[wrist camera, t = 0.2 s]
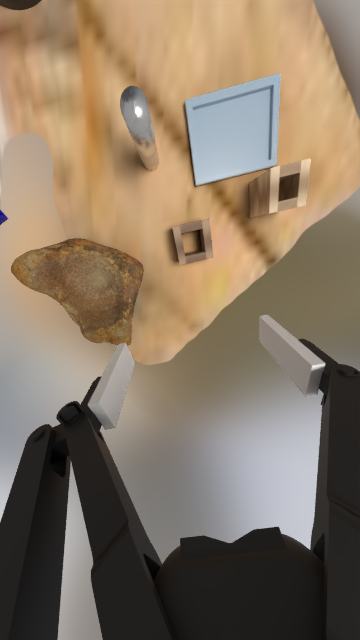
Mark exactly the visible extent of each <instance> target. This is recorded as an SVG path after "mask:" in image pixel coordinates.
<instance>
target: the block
mask: <svg viewBox="0 0 360 640" xmlns="http://www.w3.org/2000/svg"><path fill="white" fill-rule="evenodd" d="M310 162H311V158H309V159H305V160H301V161H297V162H293V163H289V164H285V165H281V166H277V167H273V168H270V169H269V170H267V171H266V172H264V173H263V174H262V175H260V176H259V177H257V178H256V179H254V180H253V181H252V182H250V183H249V193H250V218H253V217H257V216H261V215H265V214H270V213H274V212H278V211H283V210H287V209H291V208H295V207H300V206H304V205H306V197H307V188H308V180H309V171H310Z"/></svg>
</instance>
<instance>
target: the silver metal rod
mask: <svg viewBox="0 0 360 640" xmlns="http://www.w3.org/2000/svg"><path fill="white" fill-rule="evenodd" d="M120 108H121V112H122V115H123V117H124V120H125V122H126V125H127V127H128V129H129V132H130V134H131V136H132V139H133V141H134V143H135V146H136V148H137V151H138V153H139V155H140V158H141V160H142V162H143V165H144V167H145V168H146V169H147V170H150V171H152V170H155V169H156V168H157V166H158V163H159V159H158V153H157V148H156V143H155V138H154V133H153V128H152V123H151V118H150V112H149V107H148V102H147V99H146V97H145V95H144V93H143V92H142V91H141V90H140V89H139V88H138V87H135V86H129V87H127V88H126V89H125V90H124V91H123V93H122V95H121V100H120Z"/></svg>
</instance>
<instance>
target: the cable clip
mask: <svg viewBox="0 0 360 640" xmlns="http://www.w3.org/2000/svg"><path fill="white" fill-rule="evenodd" d="M7 219H8V218H7V217H6V215H5V214H4V213H3V212H2V211H1V210H0V225H1V224H2V223H3V222H5V221H6V220H7Z"/></svg>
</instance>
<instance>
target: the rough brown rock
mask: <svg viewBox="0 0 360 640" xmlns="http://www.w3.org/2000/svg"><path fill="white" fill-rule="evenodd" d="M11 271H12V273H13V274H14V276H15V277H16V278H17V279H18V280H19V281H20V282H21V283H22V284H24V285H25V286H27V287H29V288H31V289H33V290H35V291H38V292H41V293H44V294H47V295H48V296H50V297H52V298H53V299H55V300H57V301H58V302H59V303H60V304H61V305H62V306H63V307H64V308H65V310H66V311H67V312H68V314H69V315H70V317H71V318H72V319H73V320H74V321H75V322H76V323H77V324H78V325H79V326H80V329H81V332H82V334H83V336H84V337H85V338H86V339H88V340H89V341H91V342H95V343H102V342H110V343H112V344H116V345H118V344H121V343H126V344H127V346H128V345H130V344H131V333H132V330H131V329H132V324H131V323H132V317H133V311H134V306H135V301H136V298H137V294H138V291H139V288H140V284H141V281H142V278H143V271H144V270H143V265H142V264H141V263H140V262H139V261H138V260H136V259H134V258H132V257H131V256H129V255H128V254H125V253H122V252H121V251H119V250H117V249H113V248H110V247H106V246H103V245H100V244H97V243H94V242H91V241H88V240H85V239H68V240H66V241H63V242H61V243H58V244H55V245H51V246H48V247H44V248H41V249H36V250H31V251H29V252H26V253H24V254H23V255H21V256H19V257H18V258H17V259H15V261H14V262H13V264H12V267H11Z"/></svg>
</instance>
